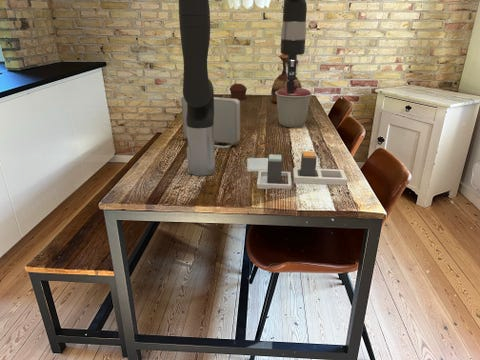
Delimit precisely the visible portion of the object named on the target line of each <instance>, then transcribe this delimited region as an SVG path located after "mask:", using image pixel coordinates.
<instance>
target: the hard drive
mask: <svg viewBox="0 0 480 360" xmlns="http://www.w3.org/2000/svg"><path fill="white" fill-rule="evenodd" d="M246 161H247V163H246V164H247V165H246V168H247V169H246V170H247V172H248V173H251V172H253V173H259V171H268V157H248V158H247V159H246Z"/></svg>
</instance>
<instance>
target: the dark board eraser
mask: <svg viewBox="0 0 480 360" xmlns="http://www.w3.org/2000/svg"><path fill="white" fill-rule="evenodd" d="M267 158H268V172H267V183H272V184H282V176H281V172H283V171H282V168H283V167H282V165H283V156H282V155H281V154H271V153H270V154H269V155H268V157H267Z"/></svg>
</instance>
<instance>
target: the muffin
mask: <svg viewBox="0 0 480 360" xmlns="http://www.w3.org/2000/svg"><path fill="white" fill-rule="evenodd" d="M247 90H248V89H247V86H245V85H244V84H243V83H235V84H233V85H231V86H230V88H229V91H230V97H231V99H238V100H239V101H240V102H241V101H244V100H245V99H246V96H247V95H246V94H247Z"/></svg>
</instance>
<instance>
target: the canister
mask: <svg viewBox="0 0 480 360" xmlns="http://www.w3.org/2000/svg"><path fill="white" fill-rule="evenodd" d="M297 87H298V85H297V84H296V83H295V84H294V93H293V94H288V93H287V88H282V89H279V90H278V91H276V92H275V94H276V95H277V102H276V105H277V106H276V108H277V118H278V124H280V125H281V126H283V127H285V128H294V129H295V128H302V127H303V126H304V125H305V123H306V121H307V118H308V117H307V116H308V111H309V107H310V102H311V96H312V95H313V92H312V91H310V90H309V89H306V88H303V87H302V88H297Z"/></svg>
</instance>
